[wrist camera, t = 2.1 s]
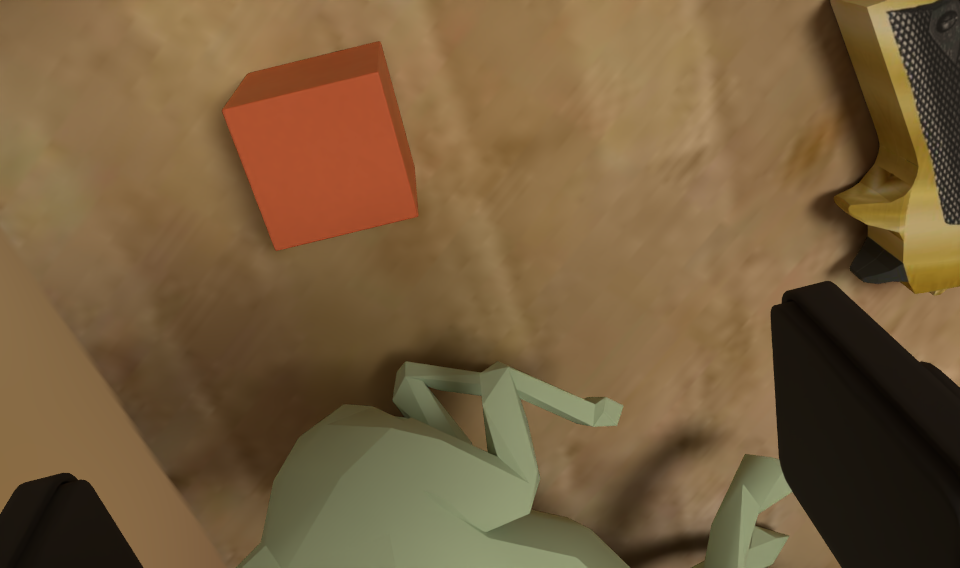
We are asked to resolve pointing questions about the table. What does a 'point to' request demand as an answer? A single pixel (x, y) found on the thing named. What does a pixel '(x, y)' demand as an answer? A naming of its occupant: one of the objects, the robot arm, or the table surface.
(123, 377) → the table surface
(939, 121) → the handgun
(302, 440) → the statue
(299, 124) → the terracotta block
